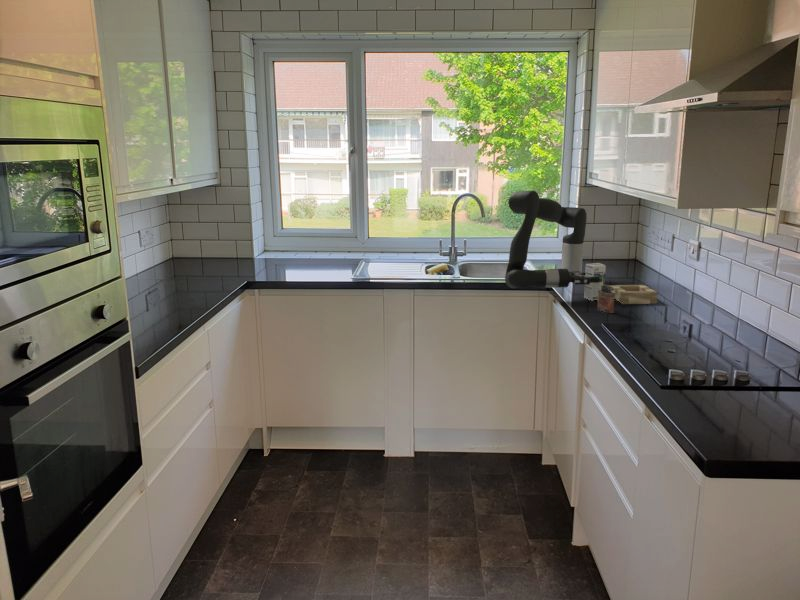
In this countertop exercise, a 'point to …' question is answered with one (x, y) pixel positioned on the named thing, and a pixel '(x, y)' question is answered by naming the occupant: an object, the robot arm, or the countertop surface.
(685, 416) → the countertop surface
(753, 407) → the countertop surface
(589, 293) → the syrup box
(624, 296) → the collar
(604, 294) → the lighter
